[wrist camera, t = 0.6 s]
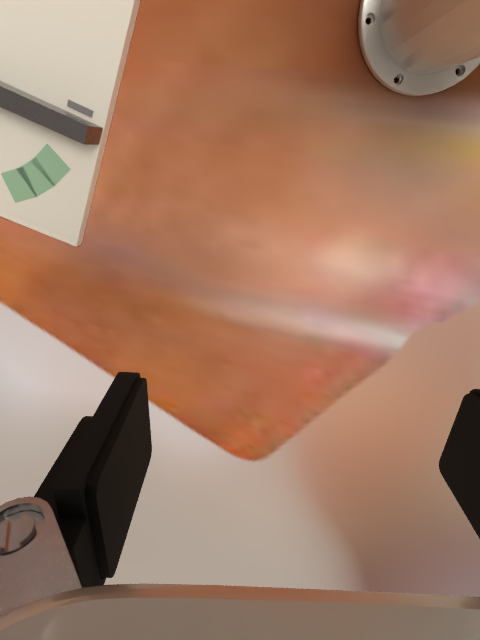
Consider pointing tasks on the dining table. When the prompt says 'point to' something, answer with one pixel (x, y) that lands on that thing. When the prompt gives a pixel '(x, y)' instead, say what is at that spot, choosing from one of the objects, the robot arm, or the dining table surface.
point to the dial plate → (59, 105)
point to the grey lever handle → (49, 115)
